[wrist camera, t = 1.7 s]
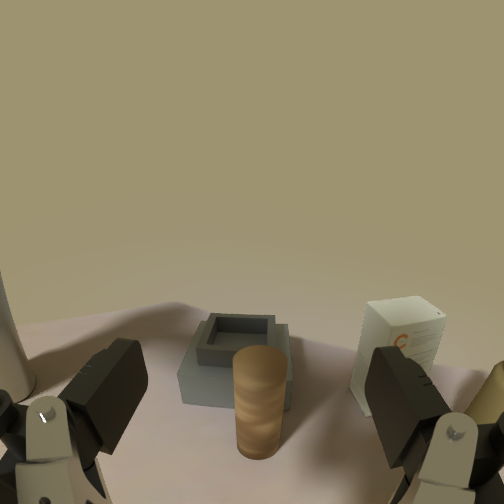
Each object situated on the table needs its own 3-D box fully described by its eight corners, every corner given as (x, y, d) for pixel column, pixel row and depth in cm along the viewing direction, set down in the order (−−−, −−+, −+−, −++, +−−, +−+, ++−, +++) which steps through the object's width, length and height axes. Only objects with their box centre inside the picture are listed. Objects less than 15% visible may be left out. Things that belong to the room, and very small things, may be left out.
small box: (396, 376, 34) (419, 294, 30) (417, 402, 28) (449, 315, 24) (347, 386, 33) (365, 300, 30) (364, 418, 27) (392, 326, 24)
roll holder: (182, 403, 30) (173, 356, 28) (203, 347, 43) (200, 306, 41) (289, 410, 30) (295, 363, 28) (285, 351, 42) (288, 309, 40)
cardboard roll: (235, 458, 22) (229, 375, 19) (239, 428, 27) (235, 344, 24) (279, 460, 22) (289, 377, 19) (278, 430, 26) (286, 345, 23)
